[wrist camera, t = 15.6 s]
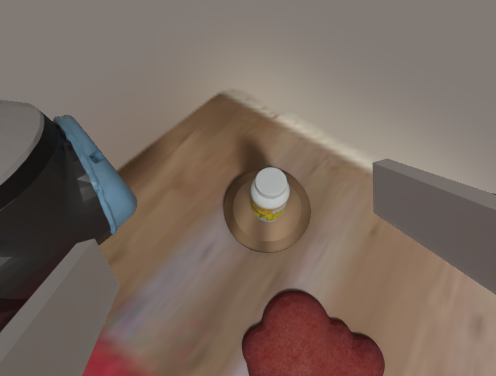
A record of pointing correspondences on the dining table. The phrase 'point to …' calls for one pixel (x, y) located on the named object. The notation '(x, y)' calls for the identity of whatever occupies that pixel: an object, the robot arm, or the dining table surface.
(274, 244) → the plate
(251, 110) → the dining table surface
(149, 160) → the dining table surface
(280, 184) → the supplement bottle
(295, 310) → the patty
